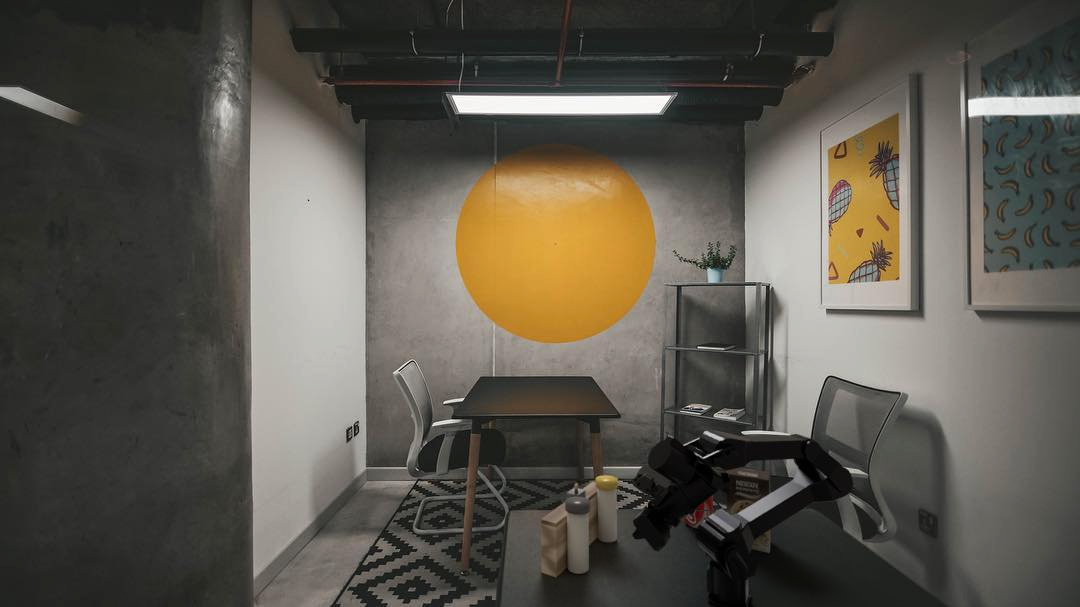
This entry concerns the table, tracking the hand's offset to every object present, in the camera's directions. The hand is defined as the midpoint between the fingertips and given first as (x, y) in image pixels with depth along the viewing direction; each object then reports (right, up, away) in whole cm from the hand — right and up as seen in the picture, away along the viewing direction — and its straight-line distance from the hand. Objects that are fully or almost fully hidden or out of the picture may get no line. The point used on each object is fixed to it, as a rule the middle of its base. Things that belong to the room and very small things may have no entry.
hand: (634, 536), depth 89 cm
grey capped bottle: (-11, -9, +4) cm, 15 cm away
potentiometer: (-10, +2, +13) cm, 16 cm away
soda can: (+21, -9, +24) cm, 33 cm away
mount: (-10, -9, +12) cm, 19 cm away
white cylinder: (-3, -9, +16) cm, 19 cm away
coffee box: (+29, -9, +15) cm, 34 cm away
